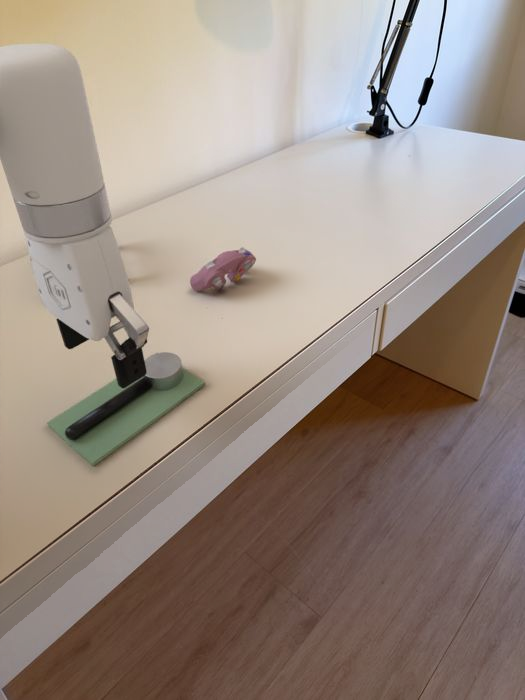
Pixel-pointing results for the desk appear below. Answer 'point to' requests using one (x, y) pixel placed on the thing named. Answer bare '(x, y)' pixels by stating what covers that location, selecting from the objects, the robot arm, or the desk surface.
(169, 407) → the mat
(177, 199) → the desk surface
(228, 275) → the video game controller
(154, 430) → the desk surface
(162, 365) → the grey saucepan
